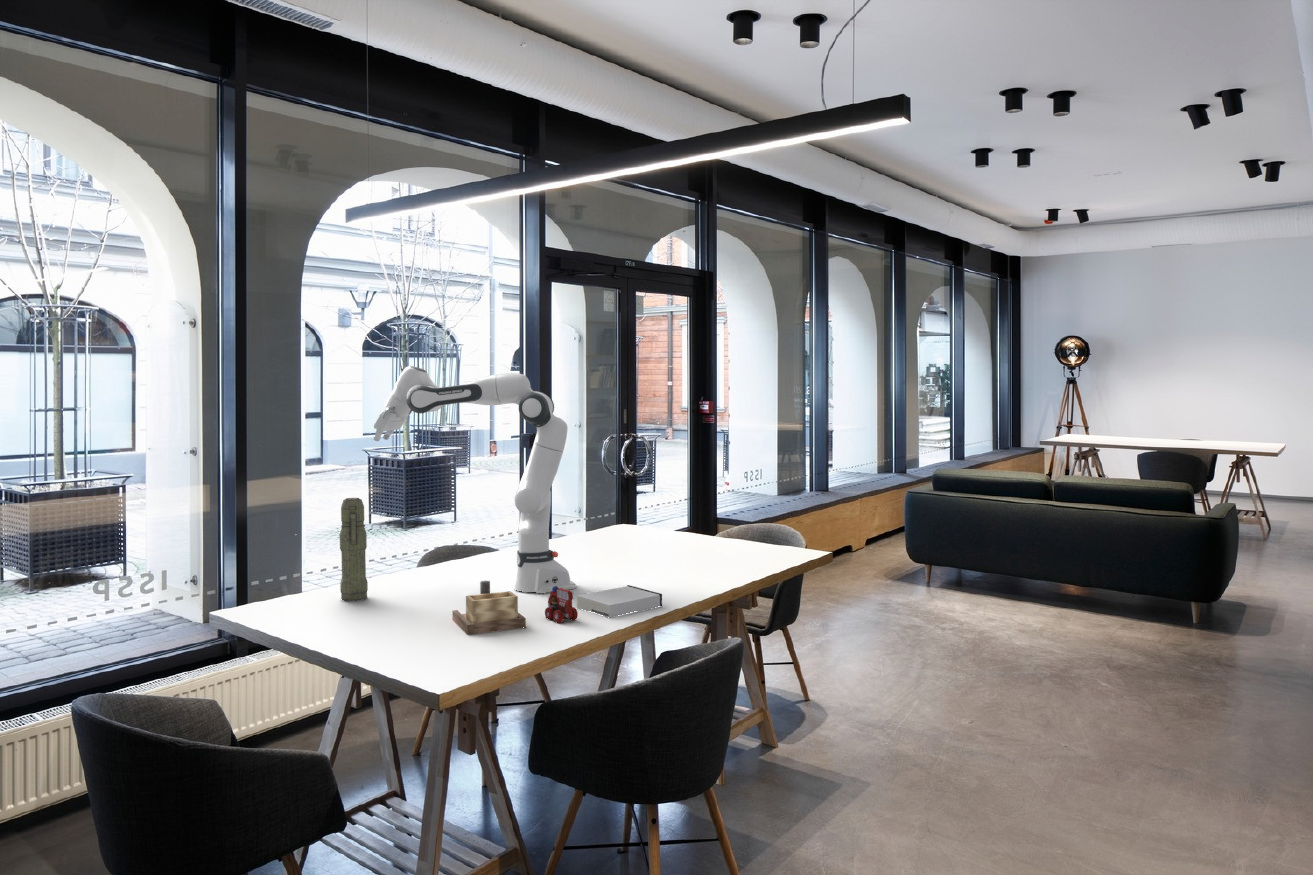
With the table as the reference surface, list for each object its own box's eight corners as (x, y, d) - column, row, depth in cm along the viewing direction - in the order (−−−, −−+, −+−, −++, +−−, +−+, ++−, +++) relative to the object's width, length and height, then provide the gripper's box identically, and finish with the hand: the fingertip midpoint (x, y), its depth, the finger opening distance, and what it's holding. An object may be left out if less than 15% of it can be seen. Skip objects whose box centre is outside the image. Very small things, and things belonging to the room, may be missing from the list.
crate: (505, 612, 287) (505, 578, 286) (517, 622, 275) (517, 586, 275) (462, 617, 281) (461, 582, 280) (472, 627, 269) (472, 591, 269)
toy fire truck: (559, 614, 292) (559, 582, 291) (580, 622, 282) (580, 589, 281) (541, 617, 287) (540, 585, 287) (562, 625, 278) (561, 592, 277)
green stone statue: (343, 603, 305) (341, 501, 303) (338, 596, 316) (336, 497, 314) (370, 600, 309) (368, 499, 307) (364, 593, 320) (362, 496, 318)
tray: (507, 613, 292) (507, 604, 292) (525, 627, 275) (525, 617, 275) (452, 619, 284) (452, 610, 284) (467, 634, 267) (467, 624, 267)
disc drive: (662, 608, 301) (662, 593, 301) (609, 619, 286) (609, 604, 286) (628, 599, 314) (628, 584, 314) (576, 609, 299) (576, 594, 299)
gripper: (396, 411, 316) (378, 445, 317) (414, 410, 336) (397, 442, 337) (380, 402, 316) (362, 437, 317) (399, 401, 336) (382, 434, 337)
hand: (380, 439), depth 327 cm, fingers open, 8 cm apart
